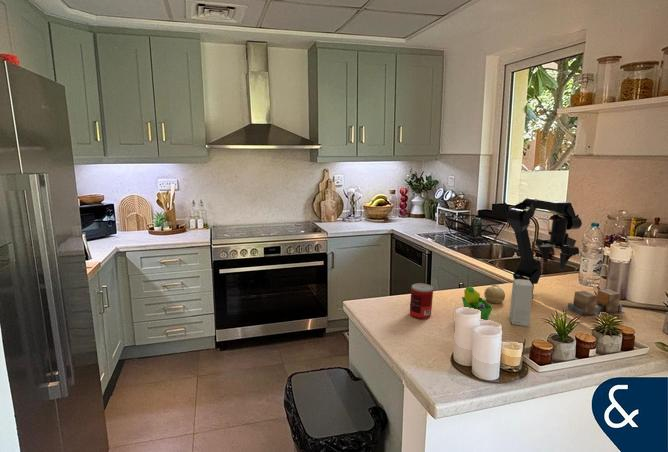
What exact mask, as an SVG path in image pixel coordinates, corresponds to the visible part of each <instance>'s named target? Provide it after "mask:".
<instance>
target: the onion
mask: <svg viewBox="0 0 668 452" xmlns="http://www.w3.org/2000/svg"><path fill="white" fill-rule="evenodd" d="M483 294H484V298H485V299H486V302H489V303H491V304H501V303H502V302H504V301H505V298H506V293H505V291H504V289H503V288H501V287H500V286H499V285H498V284H495V283H491V286H488V287H487V288H486V289H485V290H484V293H483Z"/></svg>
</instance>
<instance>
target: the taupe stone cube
mask: <svg viewBox="0 0 668 452" xmlns="http://www.w3.org/2000/svg"><path fill="white" fill-rule="evenodd" d="M621 295H622V294H621V293H619V292H617V291H614V290H612V289H609V288H607V289H606V288H605V289H604V288H603V289H598V290H597V302H596V305H603V306H606V311H607V312H613V311H618V307H619V304H620V300H621Z"/></svg>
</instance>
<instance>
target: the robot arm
mask: <svg viewBox="0 0 668 452" xmlns="http://www.w3.org/2000/svg"><path fill="white" fill-rule="evenodd" d="M526 209H528V210H526ZM537 209H539V210H543V211H548V212H550V213H552V214H553V215H552V216H550V217H549V218H548V219H549V220H551V221H552V223H551V228H550V230H551V231H548V235H550V236H549V238H547V237H546V238H545V237H543V238H542V237H541V238H537V239H536V240H535V243H534V244H535V246H536V247H537V248H538V249H539V252H540V254H541V256H542V259H543V261H544V263H547V262H548V260H549V254H550V250H551V249H552V248H555V249H558V250H560V252H559V261H560V263H559V264H560V268H561V269H564V268H565V266H566V264H567V263H568V262H569V260H570V259H571V258H572V257H573V256H576V255H579V253H580V249H579V247H578V246H575V245H576V243H577V240H576V239H574V238H572V237H569V233H567V231H570V230H579V229H580V228H581V227H582V226H583V222H582V219H581V217H579V216H580V215H579V214H576V212H575V209H574V207H573V205H572V203H571V202H570V201H563V200H562V201H561V200H551V201H548V200H540V199H537V198H532V197H527V198H525V199H524V200H523V201H521V202H519V203H517V204H515V205H513V206H512V207H511V208H510V209H509V210H508V211H507V212H506V214H505V218H506V221H507V223H508V225H509V226H510V228H512V230H513V232H514V236H515V240H516V244H517V248H518V254H519V258H520V261H519V262H518V265H517V266H518V268H517V269H516V270H515V272H514V273H513V274H512V275H513V279H522V280H530V282H531V283H532V285H533V291H532V295H533V294H534V288H535V285H537V284H538V283H539V280H540V277H541V276H542V270H543V267H542V265H541V260H540V259H536V258H534V254H533V250H532V245H531V239H530V235H529V231H528V228H529V225H530V223H531V220H530V219H532V218H533V217H534V216H535V213H536V212H535V211H536V210H537Z"/></svg>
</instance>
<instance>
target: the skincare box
mask: <svg viewBox="0 0 668 452" xmlns="http://www.w3.org/2000/svg"><path fill="white" fill-rule="evenodd" d="M532 291H533V292H534V289H533V285H532V283H531V282H530V280H522V279H514V278H513V279H512V289H511V299H510V309H509V318H510V322H511V324H512V325H515V326H516V325H517V326H521V327H527V328H529V327H530V320H531V311H532V310H531V309H532V299H533V294H532Z"/></svg>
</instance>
